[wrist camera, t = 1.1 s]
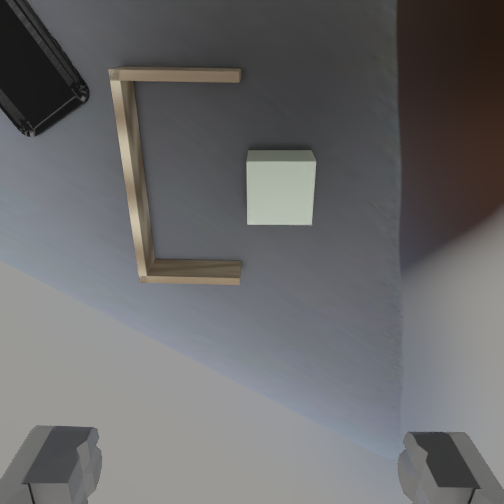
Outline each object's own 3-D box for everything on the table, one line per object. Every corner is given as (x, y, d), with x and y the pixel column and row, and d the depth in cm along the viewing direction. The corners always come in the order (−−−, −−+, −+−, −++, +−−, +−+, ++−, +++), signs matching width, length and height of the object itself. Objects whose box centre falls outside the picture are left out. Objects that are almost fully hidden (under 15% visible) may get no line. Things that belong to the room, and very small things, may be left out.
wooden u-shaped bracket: (122, 66, 34) (108, 69, 31) (241, 68, 34) (238, 71, 31) (148, 265, 44) (139, 282, 41) (241, 267, 44) (239, 284, 41)
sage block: (248, 149, 38) (246, 161, 34) (311, 149, 37) (316, 161, 34) (248, 208, 40) (247, 224, 37) (307, 208, 40) (311, 224, 37)
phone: (28, 141, 37) (-114, -28, 31) (34, 138, 38) (-102, -26, 32) (92, 96, 35) (-46, -95, 29) (97, 94, 36) (-35, -90, 30)
